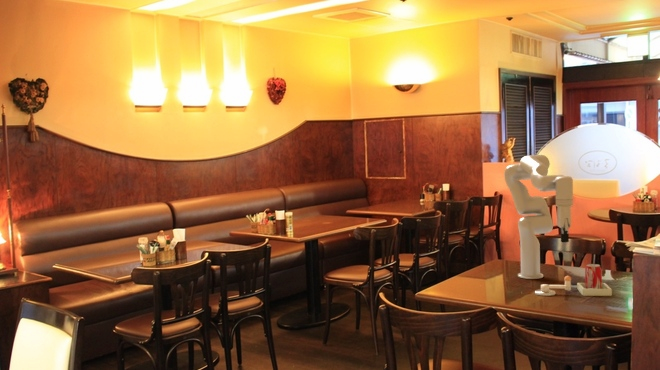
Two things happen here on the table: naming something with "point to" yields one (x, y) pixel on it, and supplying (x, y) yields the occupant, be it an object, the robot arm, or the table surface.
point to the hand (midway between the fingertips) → (564, 241)
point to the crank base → (544, 293)
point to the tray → (594, 290)
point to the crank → (567, 285)
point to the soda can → (593, 276)
